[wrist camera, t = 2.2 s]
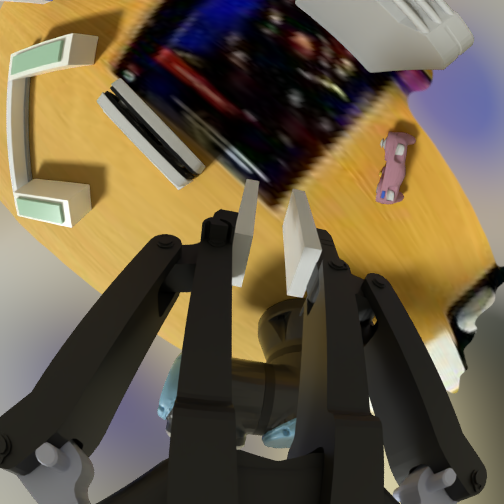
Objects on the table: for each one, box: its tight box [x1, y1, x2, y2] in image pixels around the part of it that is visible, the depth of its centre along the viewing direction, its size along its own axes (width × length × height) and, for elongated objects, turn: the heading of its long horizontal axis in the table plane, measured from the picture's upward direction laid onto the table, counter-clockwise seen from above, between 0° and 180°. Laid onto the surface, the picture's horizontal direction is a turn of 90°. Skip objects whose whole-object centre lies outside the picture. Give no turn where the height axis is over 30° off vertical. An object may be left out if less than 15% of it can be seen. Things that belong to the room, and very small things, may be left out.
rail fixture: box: [7, 33, 98, 228], centre depth 27 cm, size 28×17×7 cm, turn 169°
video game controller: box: [376, 132, 416, 204], centre depth 30 cm, size 10×5×7 cm, turn 178°
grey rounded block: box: [97, 78, 206, 190], centre depth 28 cm, size 17×5×10 cm, turn 39°
